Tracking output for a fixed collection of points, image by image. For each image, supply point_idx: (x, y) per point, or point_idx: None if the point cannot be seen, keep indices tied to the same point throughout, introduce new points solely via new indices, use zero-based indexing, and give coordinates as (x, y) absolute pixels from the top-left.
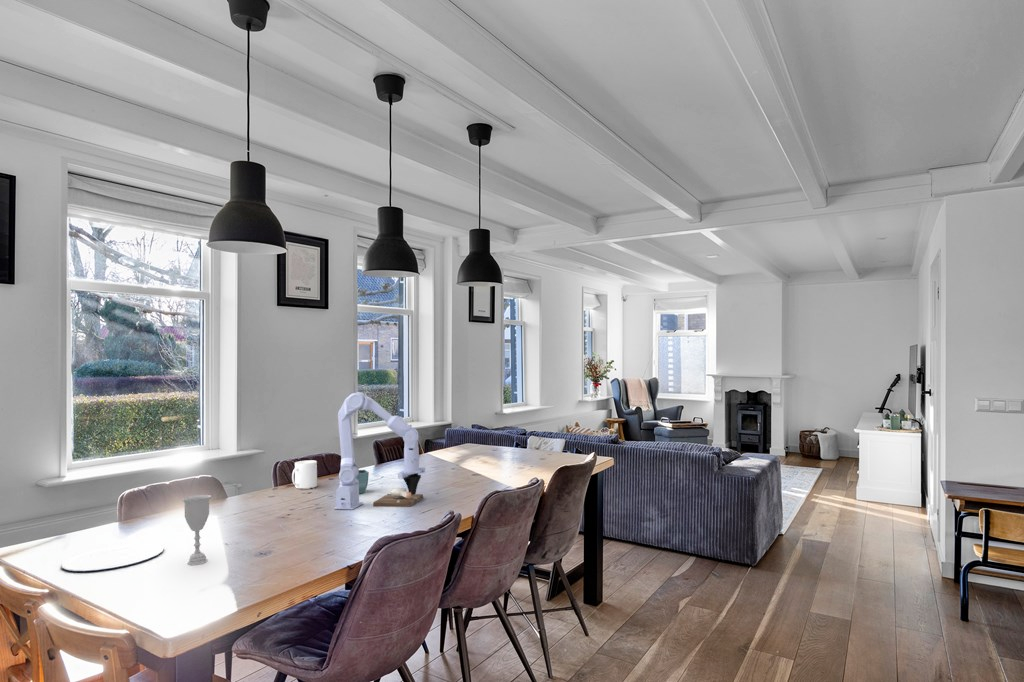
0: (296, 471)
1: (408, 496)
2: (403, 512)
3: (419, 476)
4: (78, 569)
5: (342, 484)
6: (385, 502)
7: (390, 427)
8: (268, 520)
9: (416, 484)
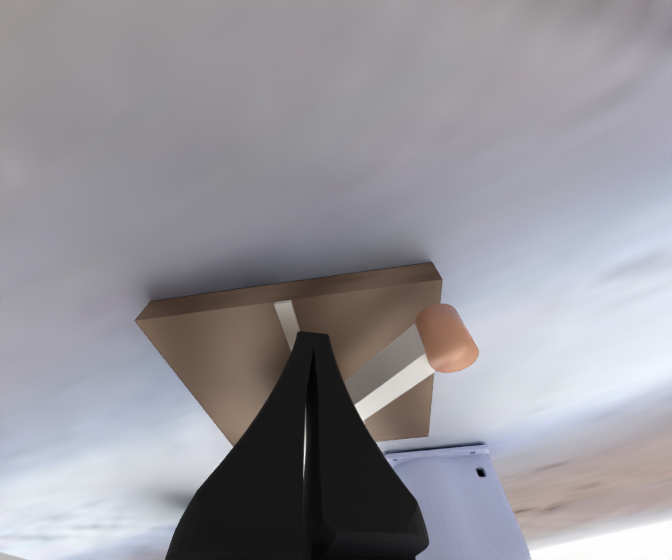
0: None
1: (463, 325)
2: (615, 227)
3: (250, 530)
4: None
5: None
6: (430, 400)
7: None
8: (581, 512)
9: (293, 405)
